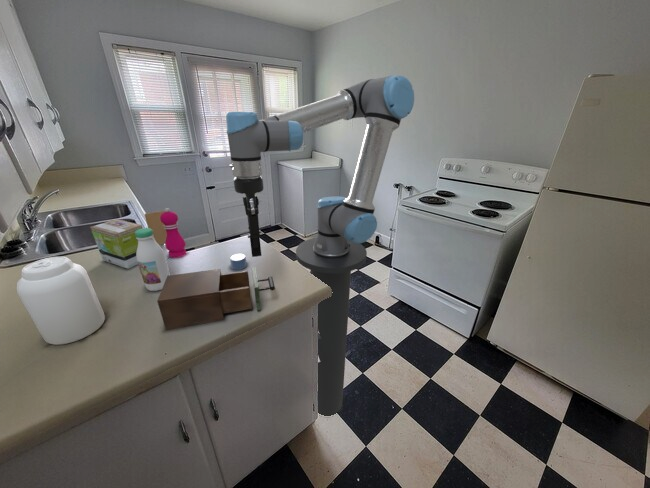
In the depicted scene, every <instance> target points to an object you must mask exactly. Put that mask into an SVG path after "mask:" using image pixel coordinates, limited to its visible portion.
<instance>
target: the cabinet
mask: <svg viewBox="0 0 650 488" xmlns="http://www.w3.org/2000/svg"><path fill="white" fill-rule="evenodd" d="M221 274H222V270H221V268H215V269H209V270H208V269H207V270H201V271H194V272H186V273H185V272H184V273H177V274H170V275H169V276H167V278H166V281H165V283H164V286H163V288H162V290H160V293H159V296H158V297H157V300H156V301H157V305H158V309H159V312H160V315H161V318H162V322H163V325H164V328H165V331H169V330H175V329H181V328H186V327H192V326H197V325H202V324H208V323H214V322H220V321H225V319H224V318H225V313H224V314H223V311H222V306H221V300H220V295H219V287H220V275H221Z"/></svg>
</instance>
